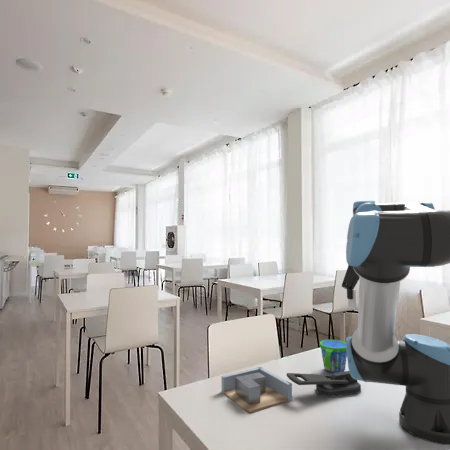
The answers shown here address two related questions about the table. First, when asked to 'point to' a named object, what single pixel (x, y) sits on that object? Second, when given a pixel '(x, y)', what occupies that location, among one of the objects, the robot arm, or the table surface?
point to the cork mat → (266, 400)
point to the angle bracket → (250, 387)
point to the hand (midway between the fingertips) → (366, 307)
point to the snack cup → (333, 355)
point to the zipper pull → (329, 383)
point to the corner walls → (270, 381)
